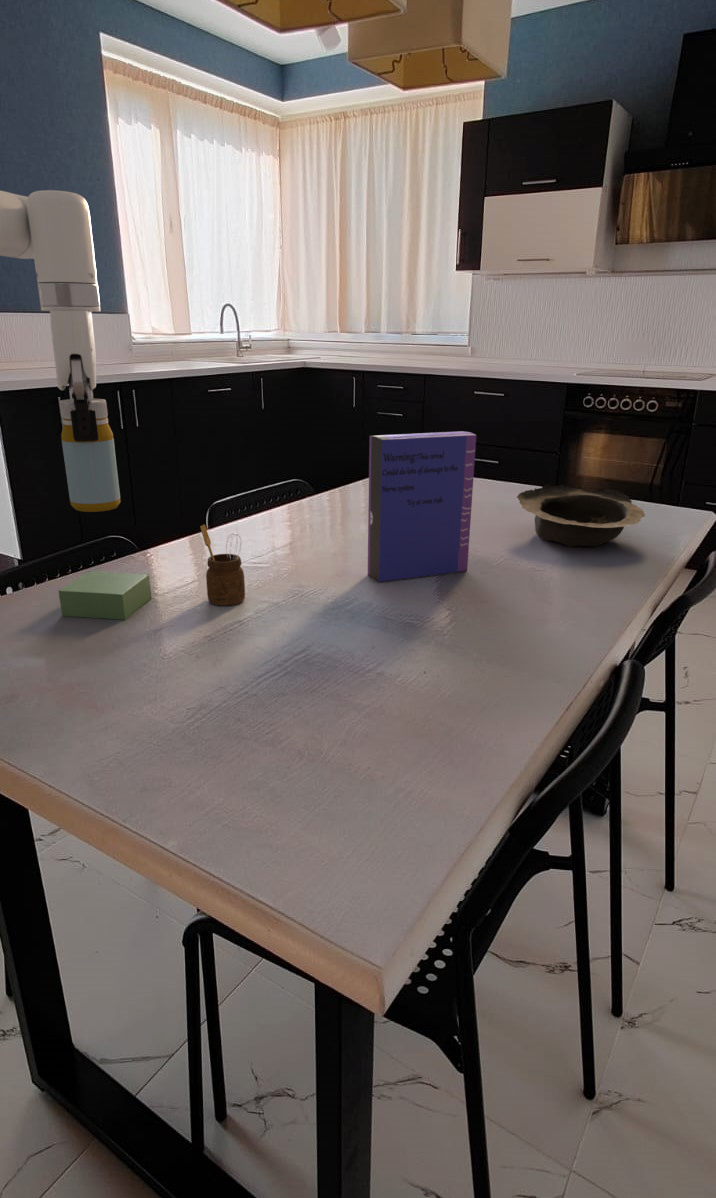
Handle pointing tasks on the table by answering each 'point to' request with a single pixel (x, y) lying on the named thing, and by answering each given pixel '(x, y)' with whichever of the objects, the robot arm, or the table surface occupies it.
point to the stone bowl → (579, 514)
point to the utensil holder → (224, 576)
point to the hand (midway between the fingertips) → (87, 436)
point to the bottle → (90, 463)
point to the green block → (105, 595)
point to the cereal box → (419, 504)
